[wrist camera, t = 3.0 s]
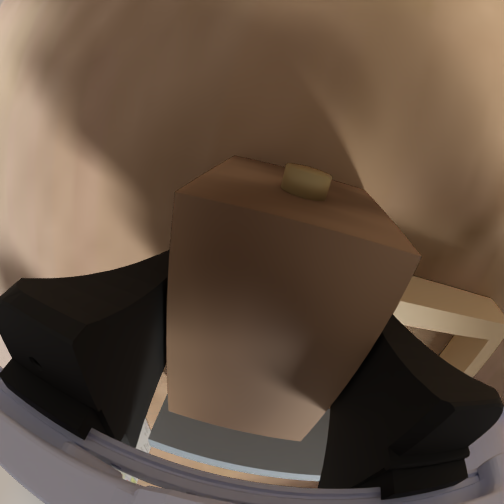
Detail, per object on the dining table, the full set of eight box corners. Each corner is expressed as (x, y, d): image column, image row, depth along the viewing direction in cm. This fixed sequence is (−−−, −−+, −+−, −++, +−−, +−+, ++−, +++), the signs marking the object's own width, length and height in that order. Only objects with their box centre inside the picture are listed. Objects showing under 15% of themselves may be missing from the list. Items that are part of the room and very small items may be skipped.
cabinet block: (369, 175, 10) (433, 230, 5) (304, 344, 13) (300, 441, 9) (237, 140, 10) (178, 161, 5) (206, 320, 14) (168, 410, 9)
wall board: (491, 298, 11) (534, 361, 6) (393, 422, 16) (401, 478, 12) (186, 217, 11) (122, 281, 7) (175, 384, 17) (149, 445, 12)
